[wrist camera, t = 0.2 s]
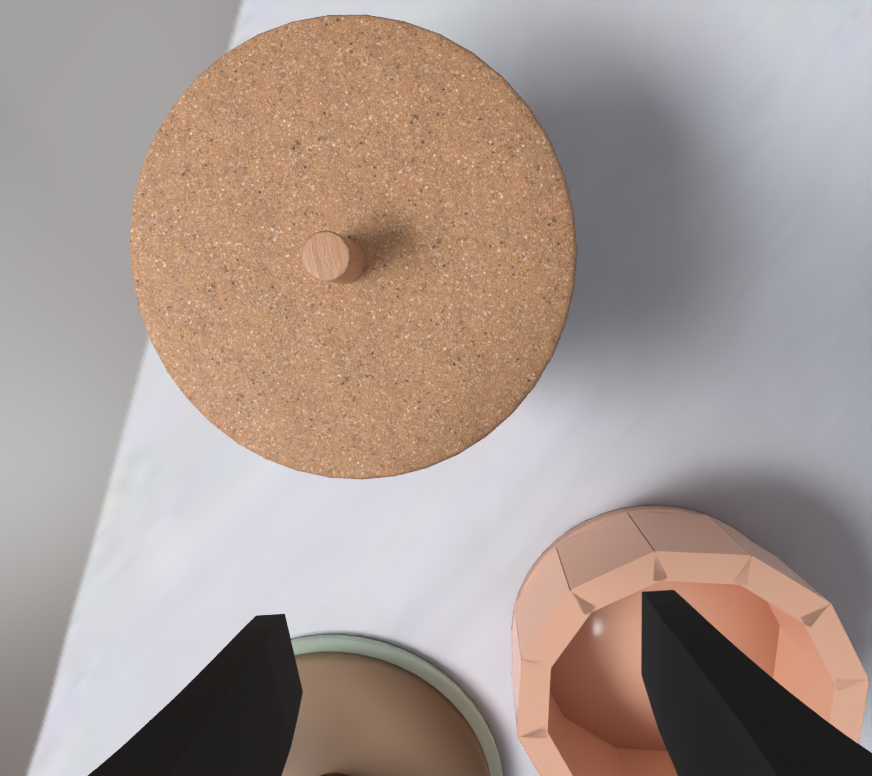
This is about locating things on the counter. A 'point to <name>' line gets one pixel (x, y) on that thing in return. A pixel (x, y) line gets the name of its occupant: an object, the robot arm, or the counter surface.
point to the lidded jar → (353, 246)
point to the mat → (415, 666)
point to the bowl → (622, 626)
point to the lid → (377, 722)
